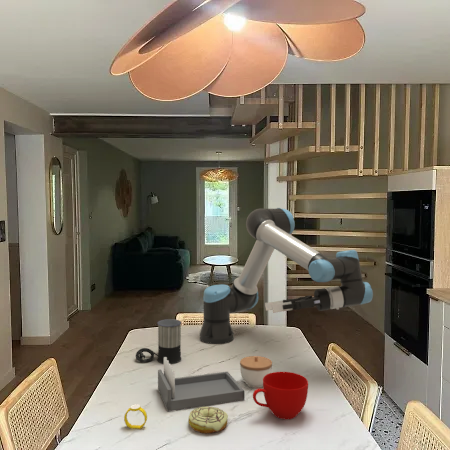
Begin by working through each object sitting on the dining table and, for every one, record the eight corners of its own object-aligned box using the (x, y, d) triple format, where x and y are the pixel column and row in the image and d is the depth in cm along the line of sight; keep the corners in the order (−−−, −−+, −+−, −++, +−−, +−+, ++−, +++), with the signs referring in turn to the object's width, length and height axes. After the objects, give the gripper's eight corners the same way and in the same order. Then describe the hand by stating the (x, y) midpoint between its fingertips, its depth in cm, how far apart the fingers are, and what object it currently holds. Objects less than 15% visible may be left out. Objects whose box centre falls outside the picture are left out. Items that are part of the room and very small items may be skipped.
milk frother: (186, 361, 169) (186, 322, 168) (149, 370, 159) (149, 330, 158) (166, 350, 180) (166, 315, 179) (131, 359, 170) (131, 321, 170)
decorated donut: (225, 437, 115) (225, 423, 115) (184, 434, 116) (184, 420, 116) (229, 417, 125) (229, 405, 125) (192, 415, 127) (192, 402, 126)
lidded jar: (270, 392, 142) (270, 363, 141) (237, 389, 144) (237, 361, 143) (273, 379, 152) (273, 352, 152) (242, 376, 154) (242, 350, 154)
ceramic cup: (242, 411, 129) (242, 377, 129) (291, 400, 136) (292, 368, 136) (264, 432, 117) (264, 395, 117) (316, 419, 124) (317, 385, 124)
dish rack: (158, 389, 144) (157, 356, 143) (227, 380, 151) (227, 348, 151) (167, 411, 128) (167, 374, 128) (244, 400, 136) (244, 365, 136)
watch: (124, 430, 118) (122, 409, 118) (126, 425, 121) (125, 404, 121) (146, 430, 118) (144, 408, 118) (148, 424, 121) (146, 403, 120)
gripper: (341, 311, 142) (277, 321, 140) (319, 307, 167) (264, 316, 164) (337, 288, 143) (274, 297, 141) (315, 287, 168) (261, 296, 165)
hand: (268, 307), depth 153 cm, fingers open, 13 cm apart
